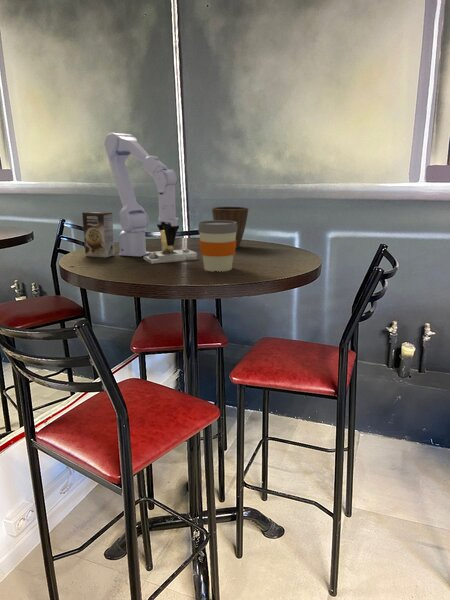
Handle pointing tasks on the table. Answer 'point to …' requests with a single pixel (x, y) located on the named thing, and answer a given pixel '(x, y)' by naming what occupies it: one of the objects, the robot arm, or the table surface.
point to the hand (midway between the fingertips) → (168, 244)
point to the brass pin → (165, 244)
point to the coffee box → (98, 234)
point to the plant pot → (232, 218)
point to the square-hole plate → (171, 256)
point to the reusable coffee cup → (217, 244)
